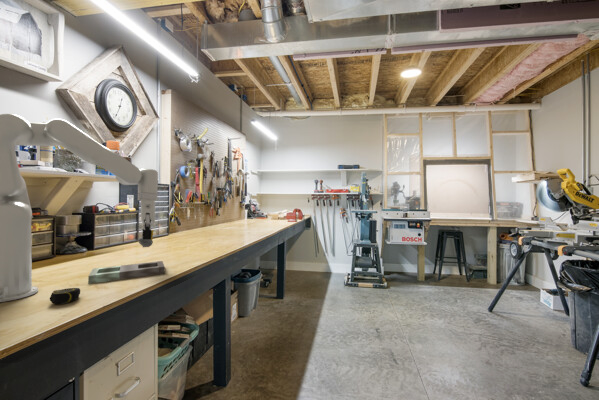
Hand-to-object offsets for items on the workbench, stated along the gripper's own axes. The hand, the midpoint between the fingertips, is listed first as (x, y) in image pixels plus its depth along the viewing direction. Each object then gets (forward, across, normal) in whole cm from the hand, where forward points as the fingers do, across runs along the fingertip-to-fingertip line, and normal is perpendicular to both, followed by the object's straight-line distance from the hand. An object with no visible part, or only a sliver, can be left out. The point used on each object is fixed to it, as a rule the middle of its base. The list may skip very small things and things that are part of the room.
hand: (146, 237), depth 116 cm
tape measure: (+16, -23, +23) cm, 36 cm away
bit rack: (+15, 0, +6) cm, 17 cm away
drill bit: (+4, 0, 0) cm, 4 cm away
